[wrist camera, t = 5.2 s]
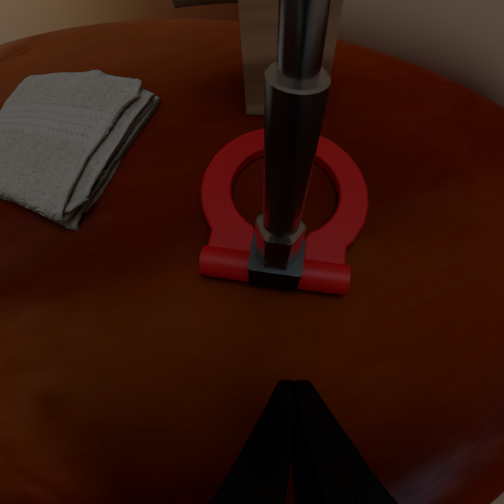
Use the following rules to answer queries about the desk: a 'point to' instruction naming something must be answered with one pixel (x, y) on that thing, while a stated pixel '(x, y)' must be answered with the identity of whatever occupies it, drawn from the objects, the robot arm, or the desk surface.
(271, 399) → the robot arm
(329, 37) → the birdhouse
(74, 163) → the washcloth
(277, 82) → the tow hook
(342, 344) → the desk surface
